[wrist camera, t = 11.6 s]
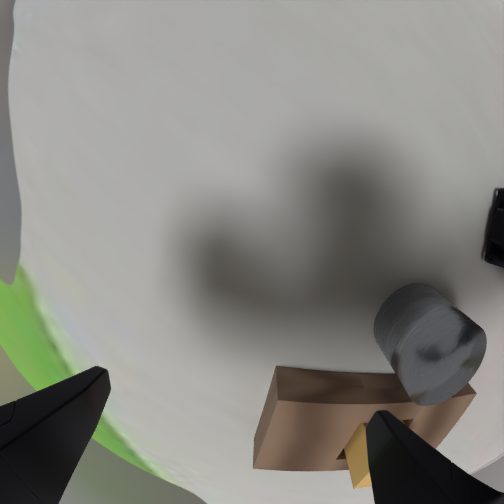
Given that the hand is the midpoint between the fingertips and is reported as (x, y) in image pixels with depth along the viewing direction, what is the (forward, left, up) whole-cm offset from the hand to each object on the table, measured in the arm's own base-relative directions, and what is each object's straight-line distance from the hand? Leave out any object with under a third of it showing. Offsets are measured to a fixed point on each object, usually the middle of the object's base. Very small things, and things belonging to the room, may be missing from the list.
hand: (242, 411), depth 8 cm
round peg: (-13, +2, -12) cm, 18 cm away
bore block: (-13, +12, -12) cm, 21 cm away
